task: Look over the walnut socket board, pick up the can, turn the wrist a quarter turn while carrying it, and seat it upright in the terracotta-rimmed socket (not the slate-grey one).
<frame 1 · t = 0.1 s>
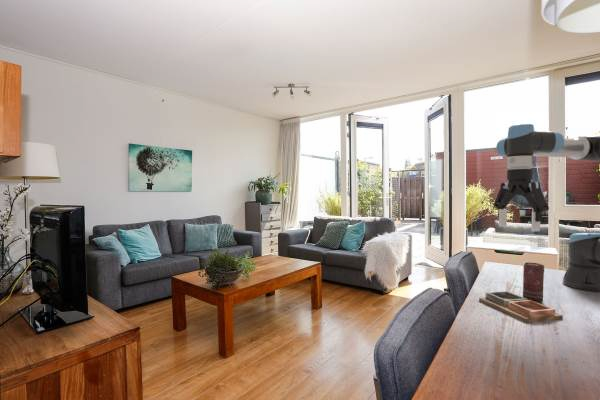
hand: (518, 228, 114), 28 cm above the table, fingers open, 13 cm apart
can: (533, 301, 121), on the table
board: (517, 309, 113), on the table
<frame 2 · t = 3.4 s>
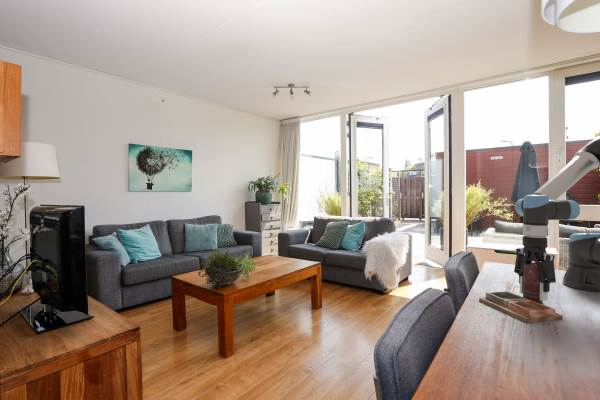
hand: (533, 296, 121), 2 cm above the table, fingers open, 8 cm apart
nothing on the table moved.
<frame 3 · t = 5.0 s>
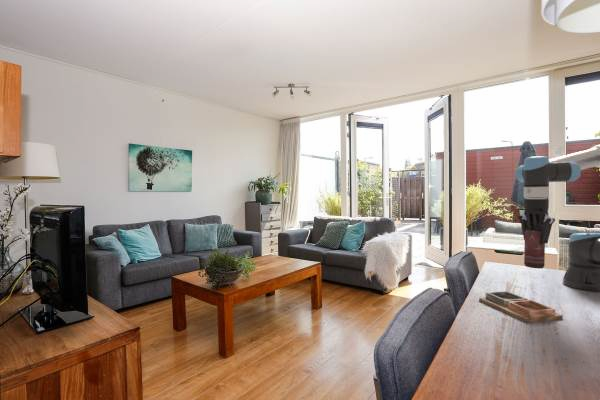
hand: (535, 261, 121), 15 cm above the table, fingers closed
can: (534, 267, 120), point 13 cm above the table, touching hand
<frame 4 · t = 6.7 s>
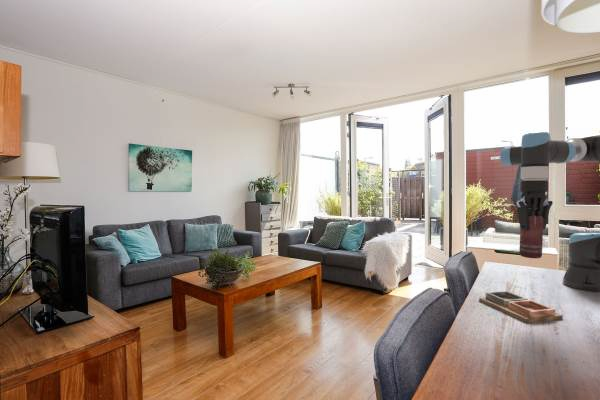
hand: (532, 251, 107), 22 cm above the table, fingers closed
can: (530, 257, 107), point 19 cm above the table, touching hand
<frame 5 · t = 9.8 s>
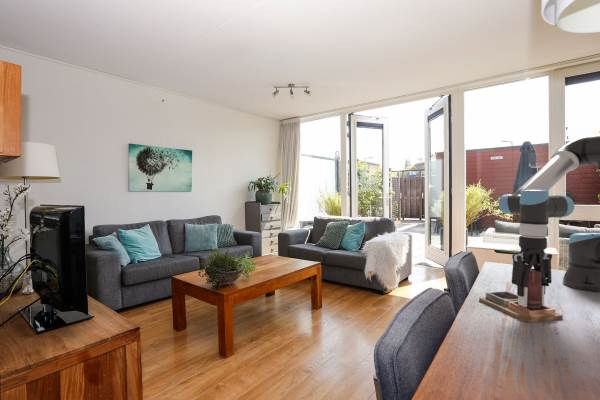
hand: (530, 304, 108), 3 cm above the table, fingers closed on board, 6 cm apart
can: (529, 311, 108), point 1 cm above the table, touching board
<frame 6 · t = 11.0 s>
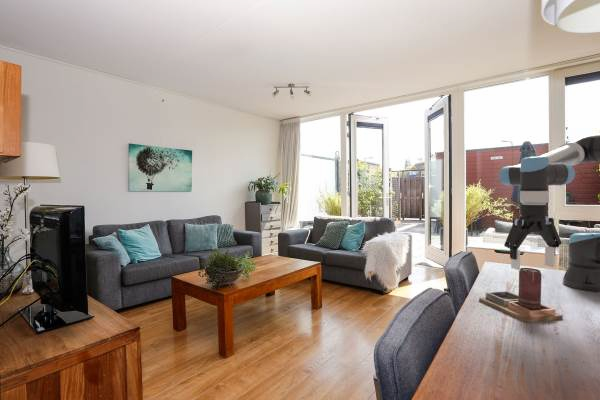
hand: (532, 267, 107), 16 cm above the table, fingers open, 13 cm apart
nothing on the table moved.
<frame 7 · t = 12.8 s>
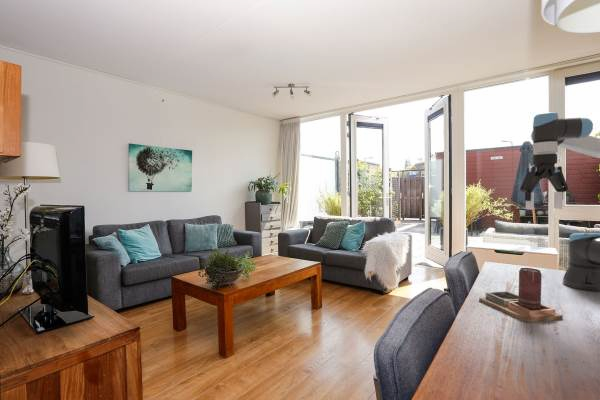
hand: (544, 209, 125), 34 cm above the table, fingers open, 13 cm apart
nothing on the table moved.
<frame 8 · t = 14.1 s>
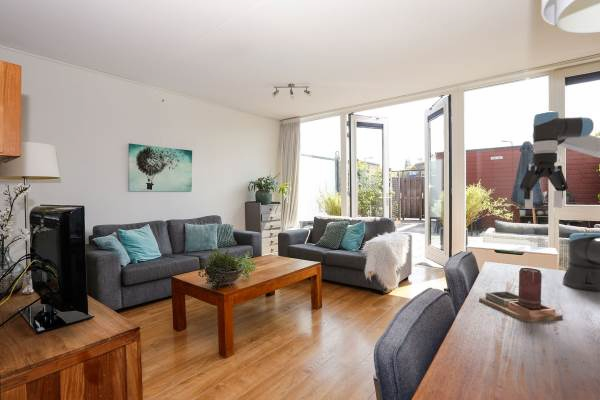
hand: (543, 207, 125), 35 cm above the table, fingers open, 13 cm apart
nothing on the table moved.
at the end: can 0.5 cm from the target spot on the board, point 1.0 cm above the board's base; can tilted 0°; the gripper is holding nothing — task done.
